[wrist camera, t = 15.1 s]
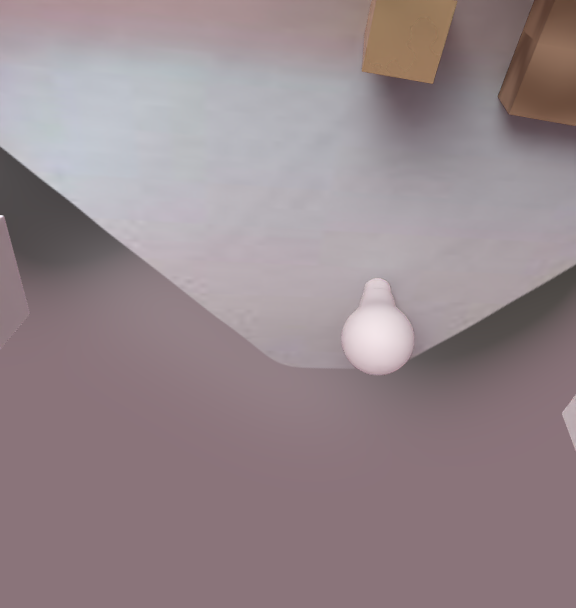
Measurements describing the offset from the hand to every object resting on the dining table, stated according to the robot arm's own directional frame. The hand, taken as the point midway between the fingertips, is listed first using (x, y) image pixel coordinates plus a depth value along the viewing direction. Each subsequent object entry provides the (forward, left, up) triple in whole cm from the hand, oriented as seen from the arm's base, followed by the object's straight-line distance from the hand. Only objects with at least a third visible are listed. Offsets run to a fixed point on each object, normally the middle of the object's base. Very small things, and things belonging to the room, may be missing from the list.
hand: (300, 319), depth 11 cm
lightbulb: (+21, +7, -32) cm, 39 cm away
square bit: (-2, +3, -32) cm, 32 cm away
